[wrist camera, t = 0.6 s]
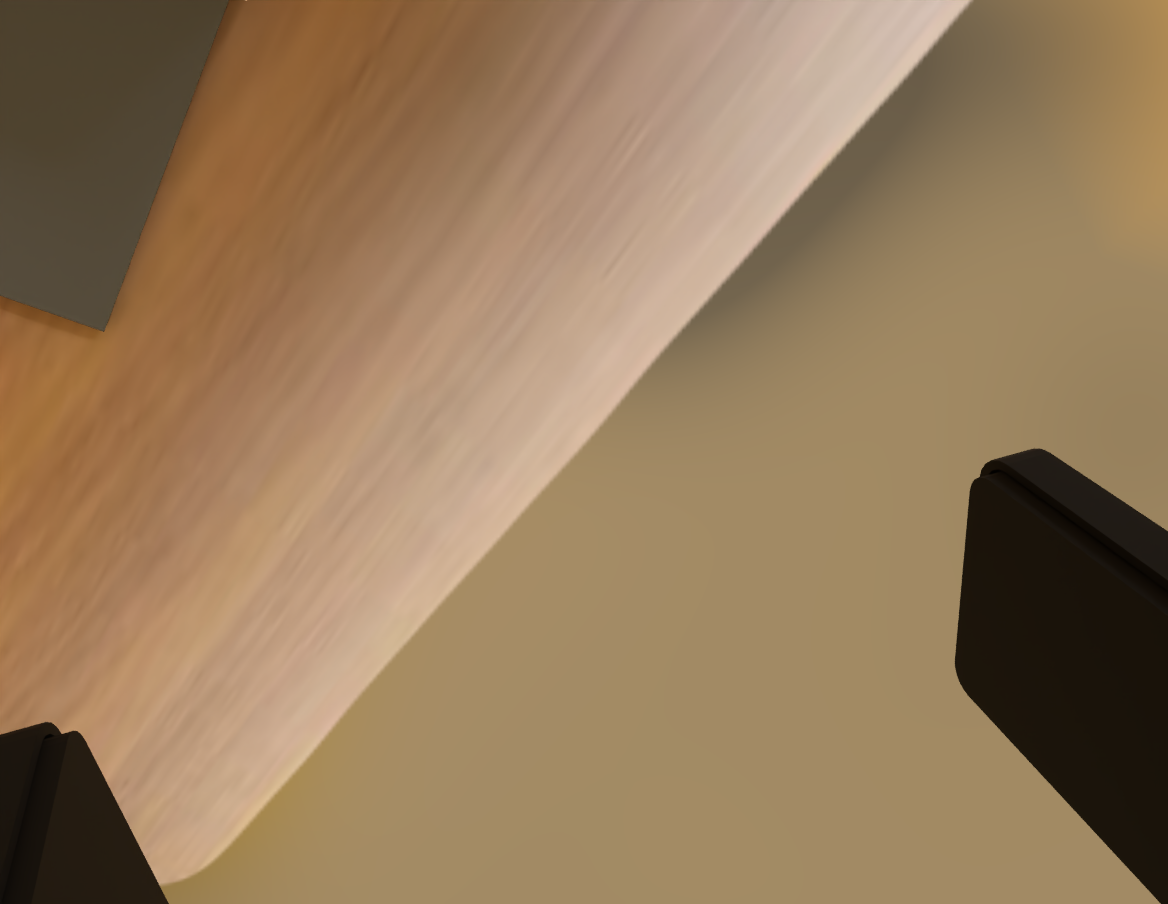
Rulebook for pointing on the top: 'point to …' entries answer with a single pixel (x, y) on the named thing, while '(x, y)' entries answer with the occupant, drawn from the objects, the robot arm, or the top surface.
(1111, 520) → the robot arm
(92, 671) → the top surface
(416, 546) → the top surface
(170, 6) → the mat
